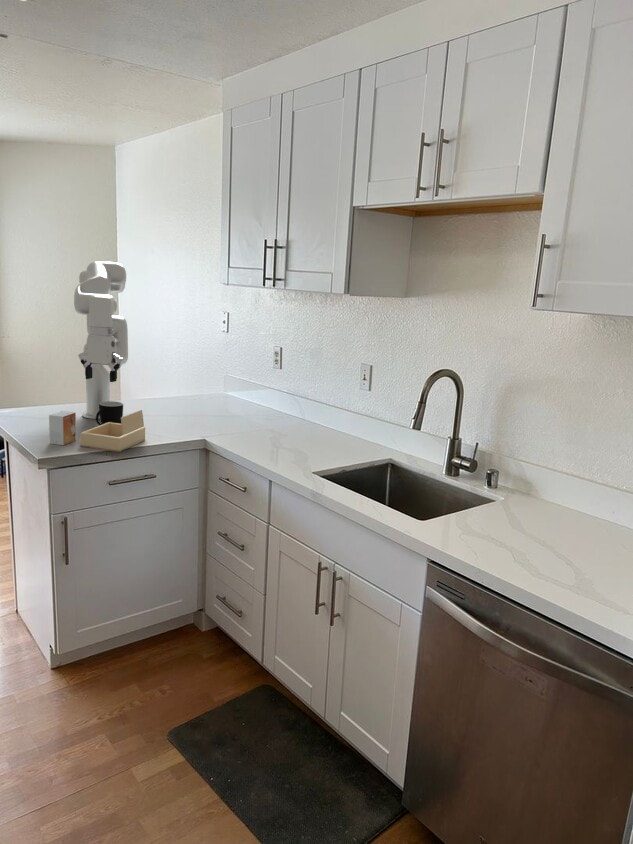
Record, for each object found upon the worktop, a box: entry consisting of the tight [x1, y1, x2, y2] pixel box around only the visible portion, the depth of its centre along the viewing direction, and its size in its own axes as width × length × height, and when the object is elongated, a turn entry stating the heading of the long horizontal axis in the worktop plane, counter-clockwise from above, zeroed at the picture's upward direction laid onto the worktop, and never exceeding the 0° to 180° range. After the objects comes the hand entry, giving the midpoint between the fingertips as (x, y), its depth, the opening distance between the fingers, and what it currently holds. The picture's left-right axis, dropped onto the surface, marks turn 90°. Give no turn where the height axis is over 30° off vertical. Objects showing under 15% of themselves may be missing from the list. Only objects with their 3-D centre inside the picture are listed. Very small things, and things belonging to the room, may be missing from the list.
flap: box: [121, 409, 145, 435], centre depth 222 cm, size 14×6×1 cm
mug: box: [95, 400, 124, 426], centre depth 242 cm, size 12×9×10 cm
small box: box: [48, 410, 77, 446], centre depth 221 cm, size 8×6×10 cm
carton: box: [79, 422, 146, 453], centre depth 225 cm, size 18×15×5 cm
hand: (101, 380), depth 220 cm, fingers open, 9 cm apart
